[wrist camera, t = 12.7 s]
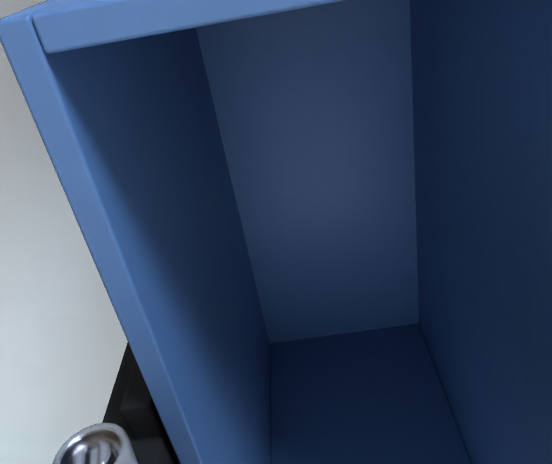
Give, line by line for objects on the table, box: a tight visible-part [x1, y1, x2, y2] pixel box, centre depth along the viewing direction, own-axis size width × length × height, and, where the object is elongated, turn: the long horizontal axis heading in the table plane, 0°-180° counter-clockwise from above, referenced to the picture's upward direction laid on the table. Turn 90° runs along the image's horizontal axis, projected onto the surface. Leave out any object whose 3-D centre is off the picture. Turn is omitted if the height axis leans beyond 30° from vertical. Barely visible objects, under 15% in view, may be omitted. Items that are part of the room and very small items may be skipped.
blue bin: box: [0, 0, 552, 464], centre depth 14 cm, size 7×15×11 cm, turn 9°
